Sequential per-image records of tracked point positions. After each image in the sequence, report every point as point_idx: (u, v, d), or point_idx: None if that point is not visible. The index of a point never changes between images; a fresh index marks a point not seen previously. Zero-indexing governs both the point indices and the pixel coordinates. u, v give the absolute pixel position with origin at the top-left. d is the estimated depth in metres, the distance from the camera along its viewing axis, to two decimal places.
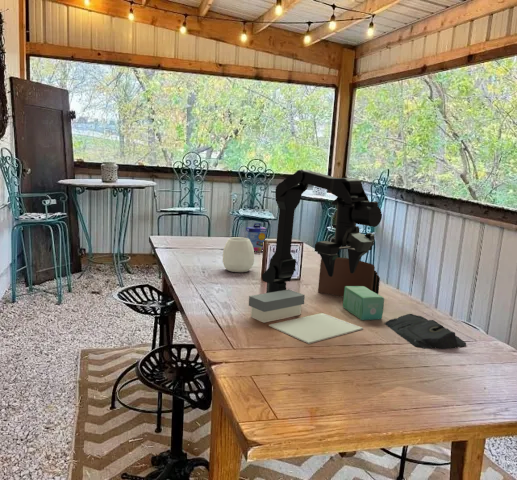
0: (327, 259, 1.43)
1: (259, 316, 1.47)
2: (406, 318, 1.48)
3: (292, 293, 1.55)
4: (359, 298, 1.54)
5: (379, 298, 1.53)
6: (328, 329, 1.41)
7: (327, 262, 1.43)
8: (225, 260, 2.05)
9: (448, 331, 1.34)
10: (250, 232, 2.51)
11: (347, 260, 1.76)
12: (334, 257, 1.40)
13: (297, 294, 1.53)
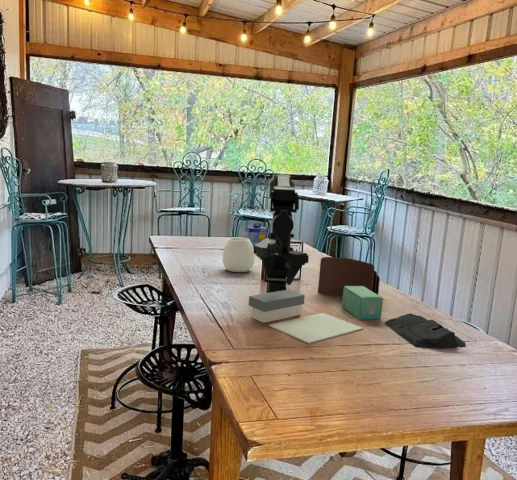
0: None
1: (259, 316, 1.47)
2: (406, 318, 1.48)
3: (292, 293, 1.55)
4: (358, 298, 1.54)
5: (378, 298, 1.53)
6: (328, 329, 1.41)
7: None
8: (225, 260, 2.05)
9: (447, 331, 1.34)
10: (250, 232, 2.51)
11: (347, 260, 1.76)
12: (260, 257, 1.53)
13: (297, 294, 1.53)
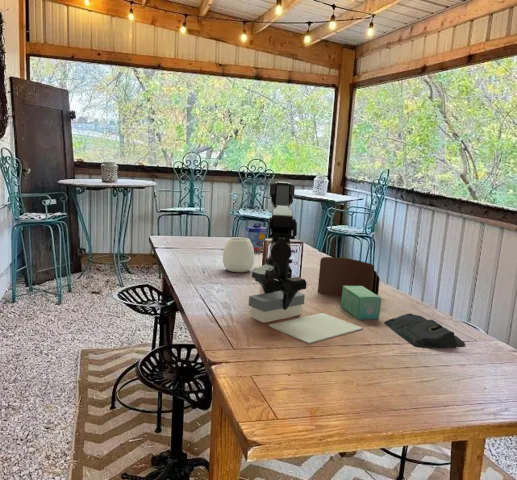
0: None
1: (259, 316, 1.47)
2: (405, 318, 1.49)
3: None
4: (356, 298, 1.54)
5: (376, 298, 1.53)
6: (328, 329, 1.41)
7: None
8: (225, 260, 2.05)
9: (447, 331, 1.34)
10: (250, 232, 2.51)
11: (347, 260, 1.76)
12: (260, 283, 1.54)
13: (297, 294, 1.53)
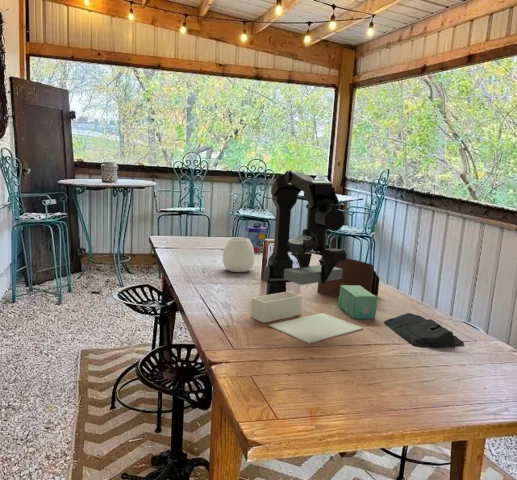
0: None
1: (259, 316, 1.47)
2: (404, 318, 1.49)
3: None
4: (352, 297, 1.55)
5: (372, 297, 1.54)
6: (328, 329, 1.41)
7: None
8: (225, 260, 2.05)
9: (446, 330, 1.35)
10: (250, 232, 2.51)
11: (347, 260, 1.76)
12: (295, 256, 1.44)
13: (334, 268, 1.44)
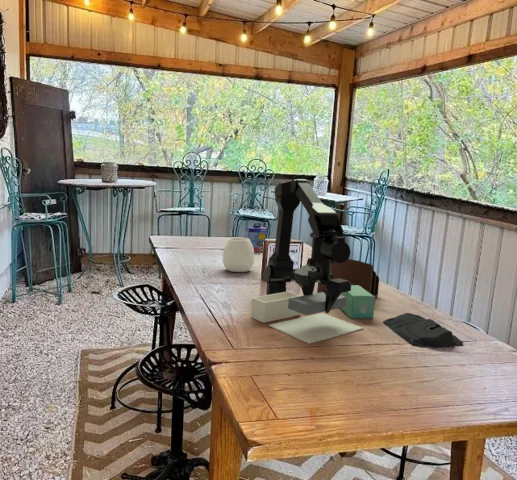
0: None
1: (259, 316, 1.47)
2: (404, 317, 1.49)
3: None
4: (350, 297, 1.55)
5: (370, 297, 1.54)
6: (328, 329, 1.41)
7: None
8: (225, 260, 2.05)
9: (445, 330, 1.35)
10: (250, 232, 2.51)
11: None
12: (299, 284, 1.44)
13: None
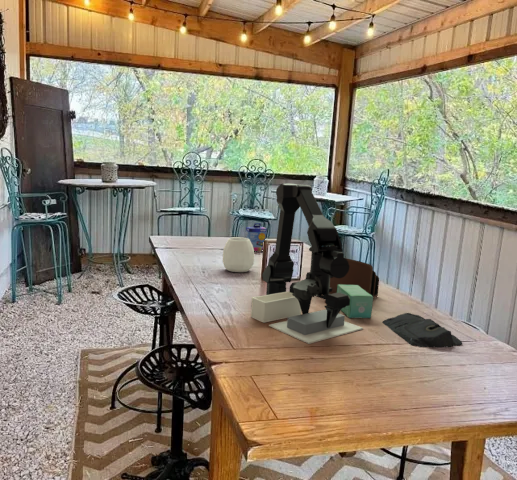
0: None
1: (259, 316, 1.47)
2: (403, 317, 1.49)
3: None
4: None
5: (368, 297, 1.54)
6: (328, 329, 1.41)
7: None
8: (225, 260, 2.05)
9: (444, 330, 1.35)
10: (250, 232, 2.51)
11: None
12: (296, 297, 1.46)
13: (337, 315, 1.45)
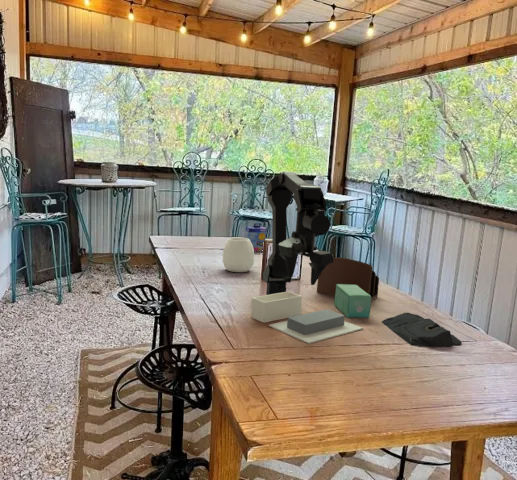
0: None
1: (259, 316, 1.47)
2: (403, 317, 1.49)
3: (331, 314, 1.46)
4: (346, 296, 1.56)
5: (366, 296, 1.54)
6: (328, 329, 1.41)
7: None
8: (225, 260, 2.05)
9: (443, 329, 1.35)
10: (250, 232, 2.51)
11: (345, 260, 1.76)
12: (282, 256, 1.50)
13: (337, 315, 1.45)
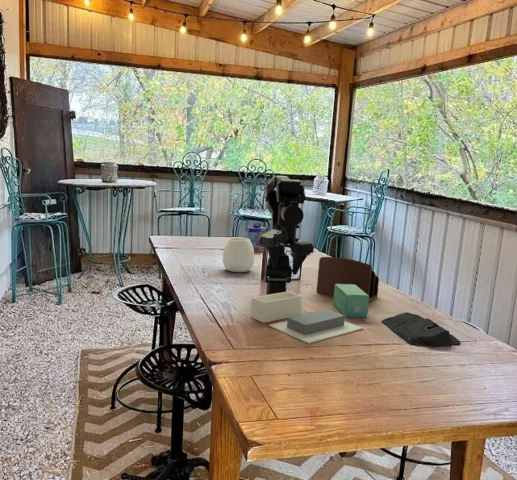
0: None
1: (259, 316, 1.47)
2: (402, 317, 1.50)
3: (331, 314, 1.46)
4: (344, 296, 1.56)
5: (364, 296, 1.55)
6: (328, 329, 1.41)
7: None
8: (225, 260, 2.05)
9: (442, 329, 1.35)
10: (250, 232, 2.51)
11: (345, 260, 1.76)
12: (266, 248, 1.57)
13: (337, 315, 1.45)
